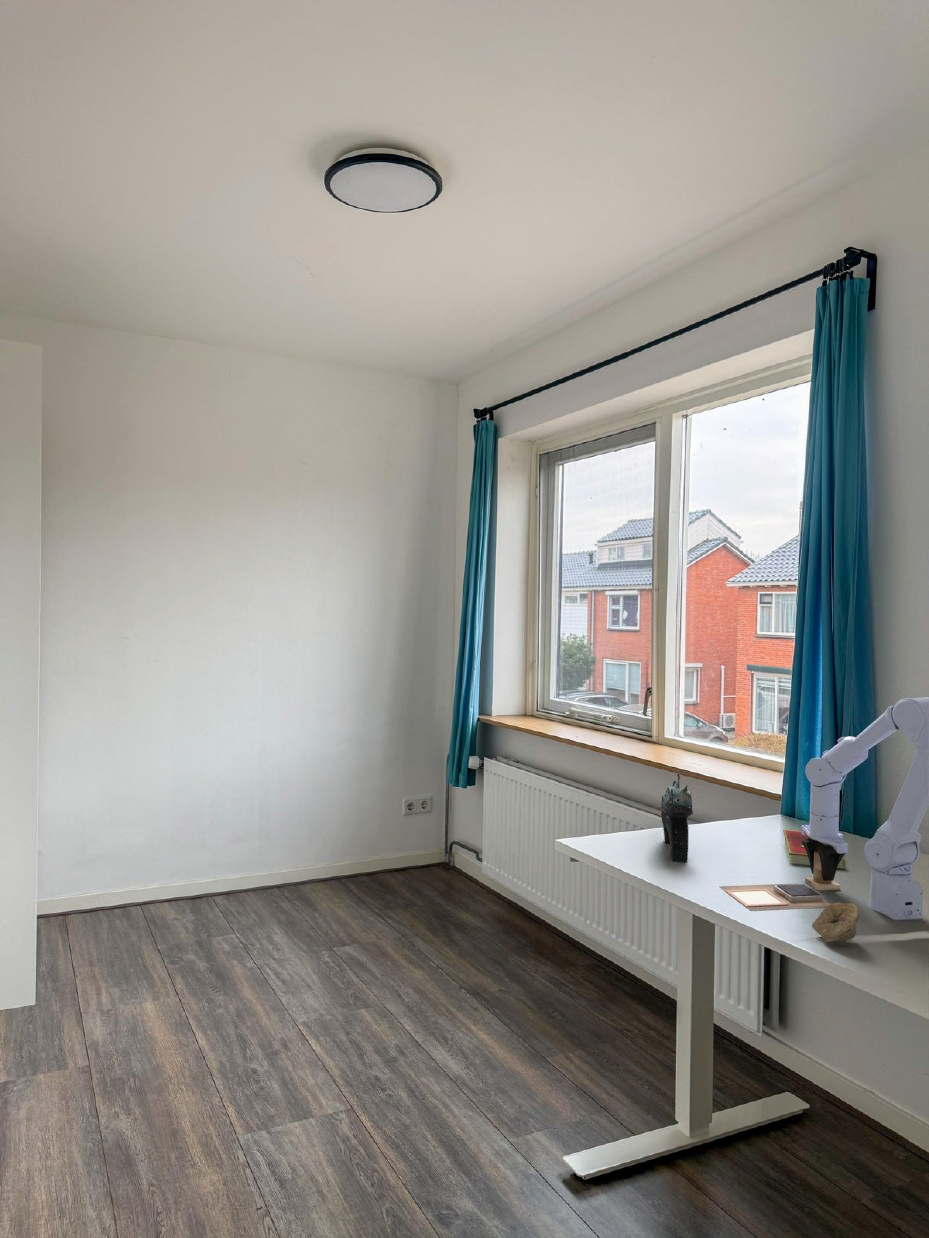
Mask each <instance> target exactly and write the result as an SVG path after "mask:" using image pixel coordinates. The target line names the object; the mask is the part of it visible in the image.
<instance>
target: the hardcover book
mask: <svg viewBox="0 0 929 1238" xmlns="http://www.w3.org/2000/svg"><path fill="white" fill-rule="evenodd" d="M782 831H783V836H784V846H786V847H785V851H786V850H787V851H786V855H788V856H787V859H789V860H788V863H789V862H790V864H791V865H793V864H794V865H804V866H810V862H809V858H808V855H807V852H806V850H805V847H804V846H803V844H802V840H804V839H808V836H807V835H803V834H801V830H794V829H793V830H792V829H782ZM790 864H789V865H790ZM837 869H843V870H846V861H845V858H844V857H843V858H842V859H841V861H840V863H839V865H838V867H837Z"/></svg>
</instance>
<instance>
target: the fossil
mask: <svg viewBox="0 0 929 1238" xmlns="http://www.w3.org/2000/svg"><path fill="white" fill-rule="evenodd" d="M830 904H831V905H830V906H828V907H827V908H823V911H821V913H820V915H818V917H817V918H816V919H815V920H814V921H813V922H812V923H811V928H812V929H813V930H814V931H815V932H816V933H818V934H819V936H817V938H819V939H820V940H822V941H823V942H827V943H832V942H837V943H838V942H839V943H846V942H848V941H850V940H851V939H854V938H855V936H856V934H857V923H858V920H859V913H860V911H859V908H858V906H856V905H855V904H854V903H852V902H851V903H850V902H849V903H848V902H846V903H845V902H844V903H843V902H834V903H830Z"/></svg>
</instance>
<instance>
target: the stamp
mask: <svg viewBox="0 0 929 1238" xmlns="http://www.w3.org/2000/svg"><path fill="white" fill-rule="evenodd" d="M812 875H813V877H804V883H805V884H806V885H808V886H811V887H812V888H813V889H815V891H816V890H817V891H835V890H838V891H839V890H840V889H841V884H839V883H838V882H836V881H834V880H833V881H824V880H823V878H822V870H821V861H820V857H819V854H818V851H815V852H814V874H812Z"/></svg>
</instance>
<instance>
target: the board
mask: <svg viewBox="0 0 929 1238" xmlns="http://www.w3.org/2000/svg"><path fill="white" fill-rule="evenodd" d="M799 884H800V883H777V884H776V883H774V884H749V885H748V884H747V885H726V886H725V885H724V886H723V885H722V886H721V885H720V886H718V887H719V888H720V889H721V890H723V891H724V892H725V890H748V889H767V890H768V891H770V892H771V893H772V894H774V895H775V896H777V897H778V898H780V899H781V900H783V901H784V902H786V903H787V904H788V905H782V906H759V907H745V906H744V905H742V906H744V907H745V908H746V909H747V910H749V911H751V912H760V911H780V910H802V909H803V910H805V909H825V908H827V907H828V906H830V905H831V904H832V903H830V902H828V901H827V900H825V899H823V901H809V902H790V901H789V900H787V899H786V898H784V897H783V896H781V895H780V894H778V893H777V892H775V891H774V886H776V885H799ZM725 893H727V892H725ZM727 894H728V893H727ZM729 896H730V897H732V896H731V895H729ZM733 899H734V900H736V899H735V898H733ZM737 902H738V903H740V902H739V901H737Z"/></svg>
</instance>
